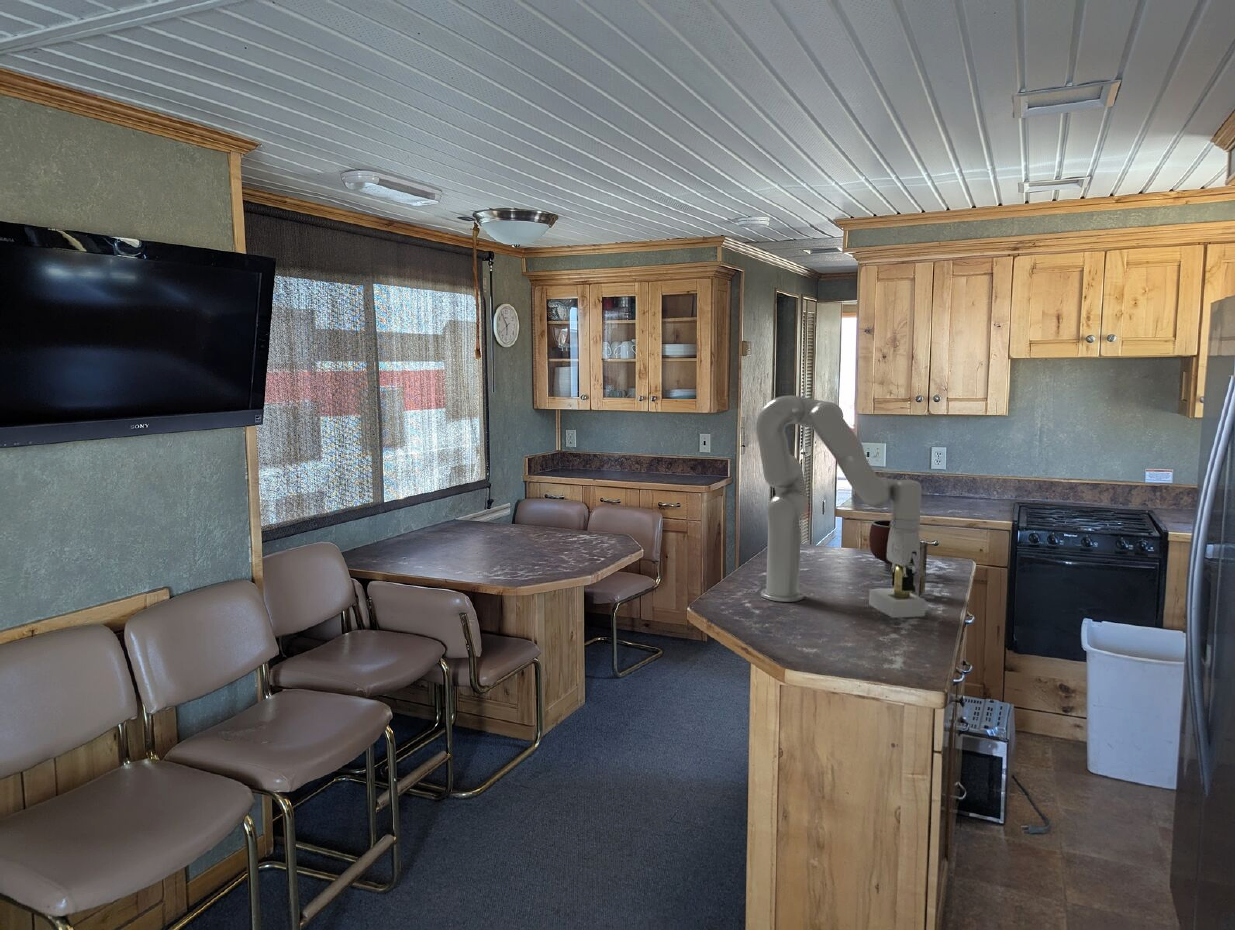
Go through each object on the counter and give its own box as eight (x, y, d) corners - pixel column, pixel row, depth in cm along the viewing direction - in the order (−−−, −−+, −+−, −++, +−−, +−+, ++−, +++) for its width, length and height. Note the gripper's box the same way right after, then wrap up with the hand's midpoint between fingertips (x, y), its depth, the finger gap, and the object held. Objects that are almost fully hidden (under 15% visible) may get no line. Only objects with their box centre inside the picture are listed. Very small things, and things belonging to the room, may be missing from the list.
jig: (868, 604, 242) (869, 589, 242) (899, 602, 245) (900, 588, 244) (892, 617, 230) (893, 602, 229) (924, 616, 232) (925, 600, 231)
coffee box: (903, 590, 259) (906, 539, 257) (925, 593, 255) (928, 542, 253) (897, 597, 251) (900, 544, 249) (919, 600, 248) (922, 547, 246)
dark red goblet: (867, 567, 288) (870, 510, 286) (909, 570, 284) (912, 512, 282) (868, 577, 273) (871, 518, 271) (912, 581, 270) (916, 520, 267)
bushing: (890, 595, 236) (892, 563, 235) (904, 594, 237) (906, 563, 236) (899, 599, 232) (900, 567, 231) (913, 598, 233) (914, 566, 232)
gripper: (877, 519, 240) (874, 581, 242) (909, 530, 223) (906, 596, 225) (901, 518, 241) (898, 579, 243) (934, 529, 225) (931, 595, 227)
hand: (902, 587), depth 234 cm, fingers closed on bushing, 4 cm apart
